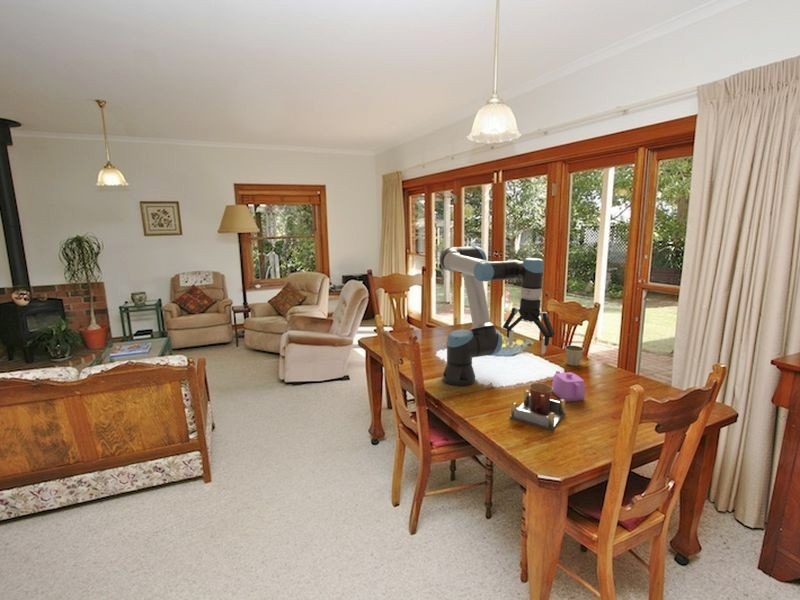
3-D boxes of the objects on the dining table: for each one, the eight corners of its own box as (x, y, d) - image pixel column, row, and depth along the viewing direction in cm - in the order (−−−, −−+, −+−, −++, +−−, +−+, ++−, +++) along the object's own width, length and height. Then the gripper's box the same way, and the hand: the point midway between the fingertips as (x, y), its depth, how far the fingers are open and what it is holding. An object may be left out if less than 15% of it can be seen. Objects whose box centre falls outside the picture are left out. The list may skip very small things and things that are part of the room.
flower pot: (565, 359, 220) (567, 344, 219) (584, 363, 215) (586, 347, 213) (561, 364, 213) (562, 348, 211) (580, 368, 208) (581, 352, 206)
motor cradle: (509, 418, 158) (510, 403, 156) (524, 403, 170) (525, 389, 169) (552, 430, 148) (553, 415, 147) (565, 413, 161) (566, 399, 159)
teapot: (545, 387, 185) (546, 366, 183) (567, 386, 187) (568, 364, 185) (566, 405, 168) (568, 382, 166) (590, 403, 169) (593, 380, 167)
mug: (526, 406, 165) (527, 382, 163) (549, 408, 163) (551, 383, 161) (529, 420, 154) (530, 394, 152) (554, 422, 152) (555, 396, 150)
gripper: (496, 295, 166) (493, 345, 171) (560, 304, 151) (555, 358, 156) (504, 292, 171) (501, 340, 176) (566, 300, 157) (561, 353, 162)
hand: (526, 349), depth 166 cm, fingers open, 13 cm apart
